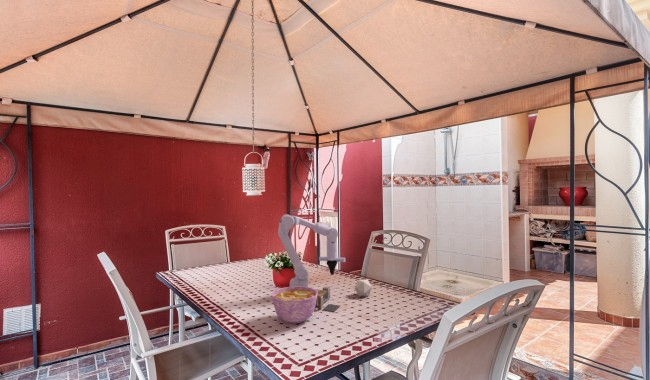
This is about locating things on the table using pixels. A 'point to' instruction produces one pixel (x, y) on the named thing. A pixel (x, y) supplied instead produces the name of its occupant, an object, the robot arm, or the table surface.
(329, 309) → the dark grey plate
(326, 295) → the hook
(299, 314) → the bowl of food
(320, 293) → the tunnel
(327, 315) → the table surface
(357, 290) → the die
